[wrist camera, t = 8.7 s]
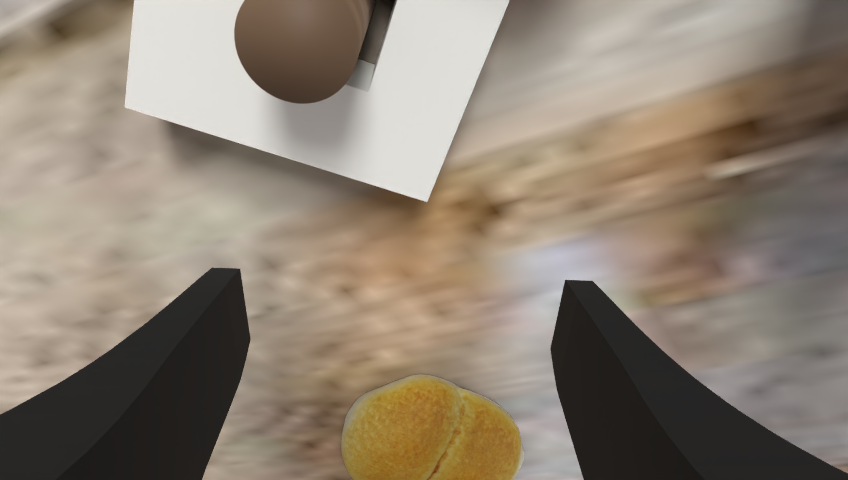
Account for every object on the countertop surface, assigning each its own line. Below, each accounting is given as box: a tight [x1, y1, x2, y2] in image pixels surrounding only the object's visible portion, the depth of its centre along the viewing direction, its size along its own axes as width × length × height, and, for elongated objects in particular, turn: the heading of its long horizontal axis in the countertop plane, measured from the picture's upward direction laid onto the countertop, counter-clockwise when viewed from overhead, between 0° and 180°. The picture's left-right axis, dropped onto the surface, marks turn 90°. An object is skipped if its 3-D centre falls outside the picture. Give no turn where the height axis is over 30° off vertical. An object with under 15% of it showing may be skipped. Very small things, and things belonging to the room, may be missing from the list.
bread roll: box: [341, 374, 524, 480], centre depth 29 cm, size 8×9×4 cm
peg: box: [234, 0, 376, 104], centre depth 16 cm, size 3×3×7 cm
